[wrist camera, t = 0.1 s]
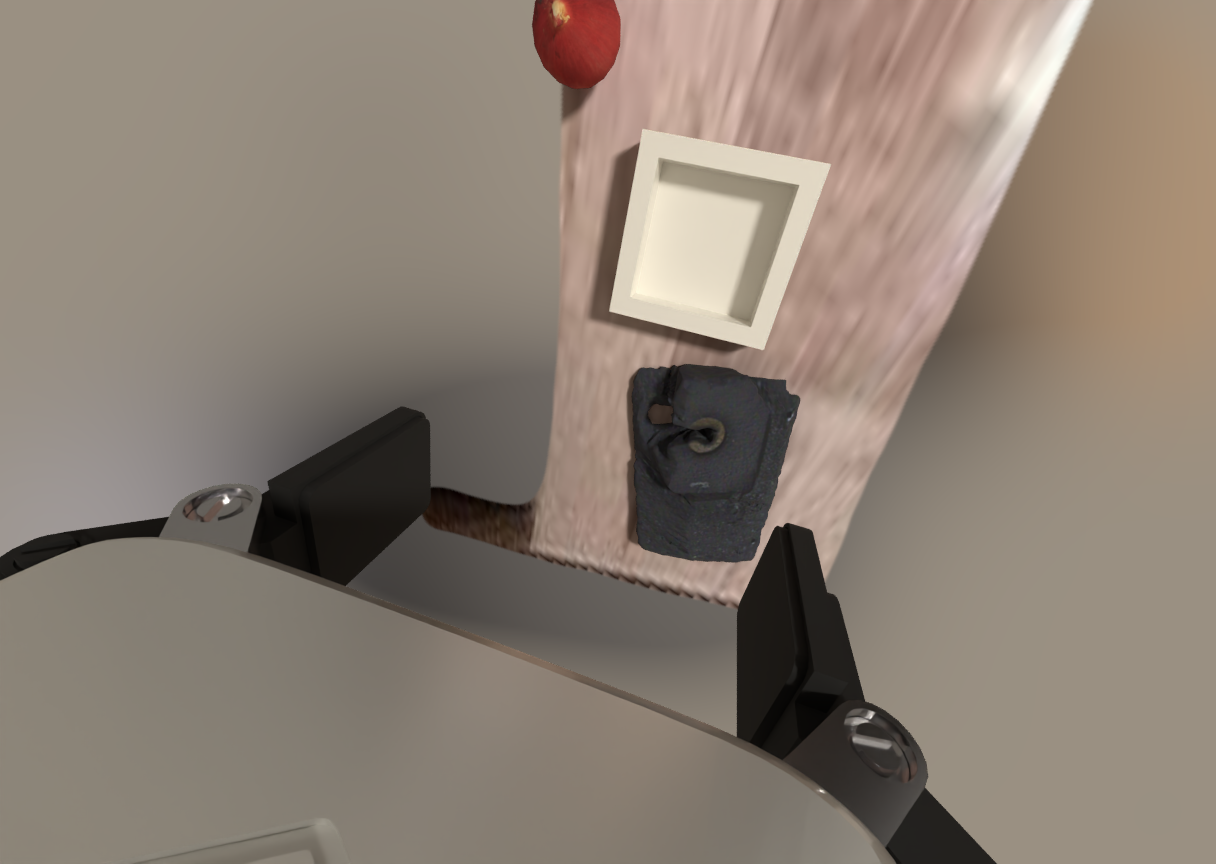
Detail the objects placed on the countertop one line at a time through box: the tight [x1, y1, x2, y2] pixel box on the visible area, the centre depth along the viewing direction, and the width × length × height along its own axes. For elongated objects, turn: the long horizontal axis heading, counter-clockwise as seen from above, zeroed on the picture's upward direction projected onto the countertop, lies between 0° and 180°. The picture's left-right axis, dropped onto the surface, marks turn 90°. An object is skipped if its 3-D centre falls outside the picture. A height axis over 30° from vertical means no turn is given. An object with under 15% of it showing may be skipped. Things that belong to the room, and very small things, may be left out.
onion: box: [532, 0, 621, 89], centre depth 29 cm, size 6×6×8 cm
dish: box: [609, 129, 831, 350], centre depth 35 cm, size 13×13×3 cm
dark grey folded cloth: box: [632, 364, 800, 562], centre depth 44 cm, size 15×22×5 cm
